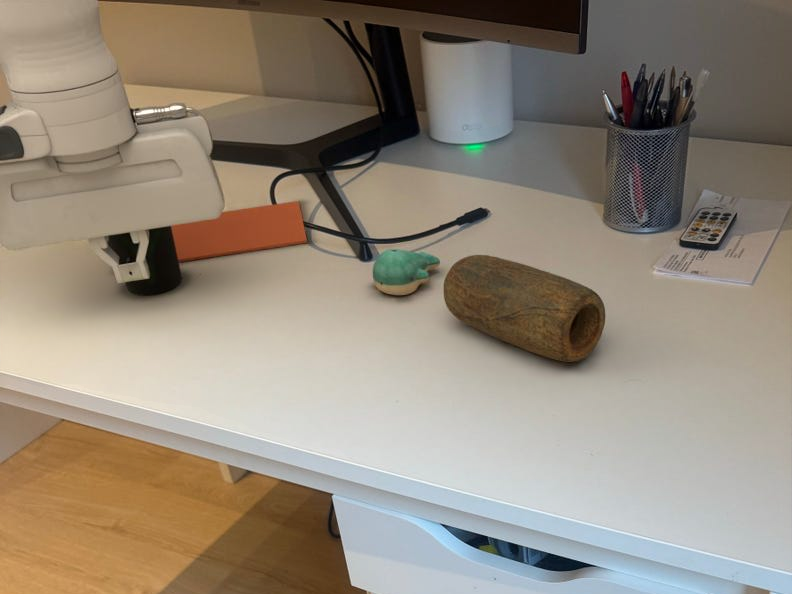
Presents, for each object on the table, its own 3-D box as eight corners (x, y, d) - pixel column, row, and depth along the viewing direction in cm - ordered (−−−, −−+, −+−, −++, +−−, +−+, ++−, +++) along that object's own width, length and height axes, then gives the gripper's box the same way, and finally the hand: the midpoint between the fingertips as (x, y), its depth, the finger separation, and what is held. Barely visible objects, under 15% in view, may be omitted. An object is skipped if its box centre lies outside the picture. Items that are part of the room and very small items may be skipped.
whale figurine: (361, 290, 89) (355, 251, 87) (413, 263, 93) (408, 225, 90) (403, 305, 86) (398, 266, 84) (454, 277, 90) (451, 238, 87)
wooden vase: (615, 348, 78) (619, 271, 73) (565, 382, 75) (566, 304, 70) (486, 303, 85) (481, 231, 81) (435, 332, 82) (427, 259, 77)
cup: (146, 264, 97) (106, 143, 89) (206, 271, 95) (171, 147, 86) (102, 296, 92) (55, 170, 84) (164, 303, 90) (122, 176, 81)
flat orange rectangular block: (121, 271, 96) (120, 268, 96) (127, 228, 105) (126, 226, 104) (307, 242, 98) (306, 240, 98) (299, 203, 107) (298, 200, 106)
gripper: (201, 89, 79) (242, 248, 89) (-40, 123, 77) (29, 282, 87) (202, 109, 75) (245, 274, 85) (-54, 146, 72) (21, 310, 82)
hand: (134, 278), depth 86 cm, fingers closed
